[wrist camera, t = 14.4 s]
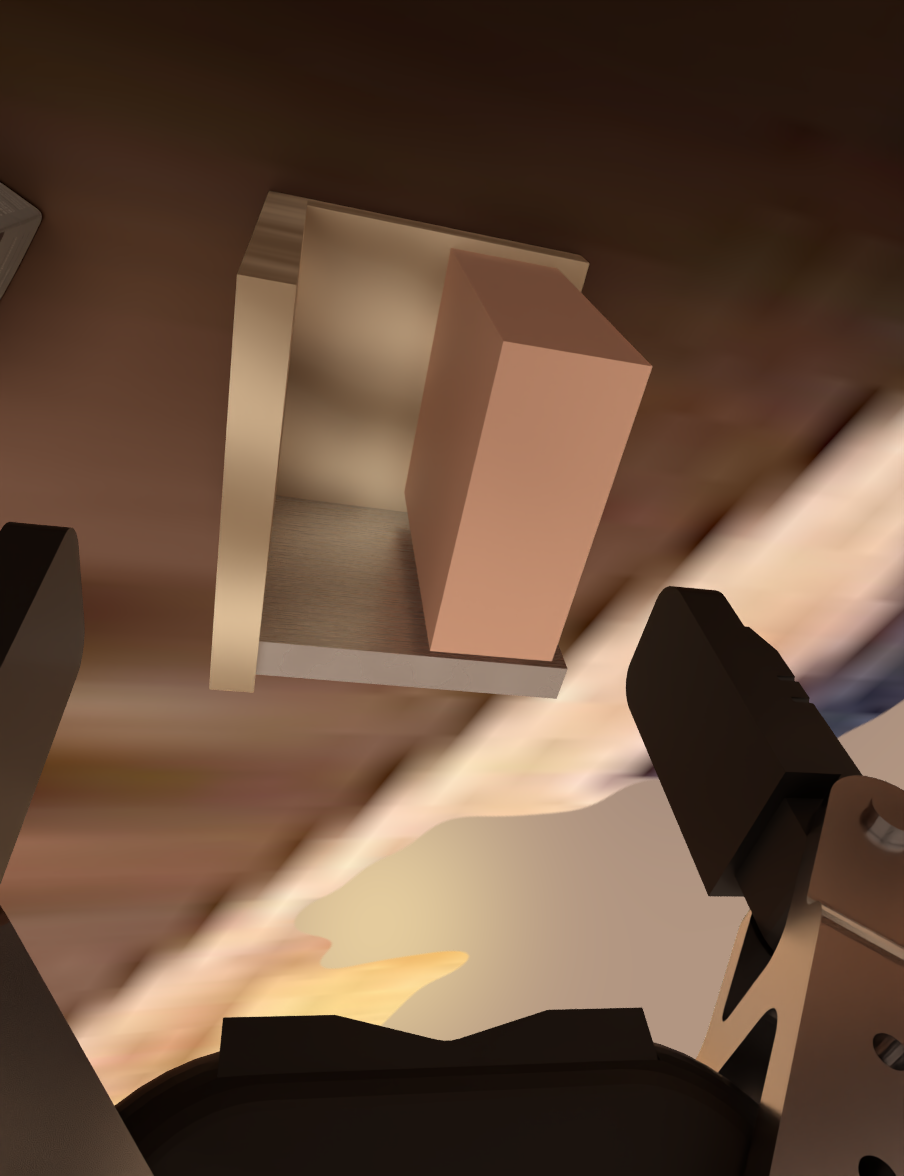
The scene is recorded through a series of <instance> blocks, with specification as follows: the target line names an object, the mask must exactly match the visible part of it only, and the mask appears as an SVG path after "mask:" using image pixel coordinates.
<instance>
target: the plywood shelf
mask: <svg viewBox="0 0 904 1176" xmlns="http://www.w3.org/2000/svg"><path fill="white" fill-rule="evenodd" d="M451 248H454V249H460V250H465V251H470V252H475V253H480V254H485V255H491V256H496V257H501V258H506V259H511V260H516V261H522V262H527V263H532V264H537V265H542V266H548V267H553V268H558V269H559V270H560V271H561V273H562V274H563V275H564V276H565V277H566V278H567V279H568V280H569V281H570V282H571V283H572V284H573V285H574V286H575V287H576V288H577V289H578V290H579V291H580V292H581V291H582V287H583V284H584V281H585V277H586V274H587V270H588V267H589V262H587V261H586V260H585V259H584V258H583V257H582V256H581V255H577V254H572V253H568V252H563V251H558V250H553V249H548V248H543V247H539V246H534V245H529V244H524V243H519V242H515V241H510V240H505V239H500V238H495V237H490V236H486V235H481V234H476V233H471V232H466V231H462V230H457V229H452V228H447V227H442V226H438V225H433V224H428V223H423V222H418V221H413V220H409V219H404V218H399V217H394V216H389V215H385V214H380V213H375V212H370V211H365V210H360V209H356V208H351V207H346V206H341V205H336V204H332V203H327V202H322V201H317V200H312V199H307V198H303V197H298V196H293V195H288V194H283V193H279V192H274V191H269V192H268V195H267V198H266V200H265V203H264V205H263V208H262V211H261V213H260V216H259V218H258V221H257V224H256V226H255V229H254V231H253V234H252V237H251V239H250V242H249V244H248V247H247V250H246V252H245V255H244V257H243V260H242V263H241V265H240V268H239V271H238V273H237V283H236V298H235V312H234V327H233V342H232V357H231V372H230V387H229V402H228V416H227V431H226V446H225V461H224V476H223V491H222V506H221V521H220V535H219V550H218V565H217V580H216V595H215V610H214V625H213V639H212V654H211V669H210V684H209V689H212V690H225V691H239V692H252V693H254V684H255V675H256V666H257V656H258V647H259V638H260V629H261V621H262V612H263V603H264V595H265V586H266V577H267V569H268V560H269V552H270V543H271V534H272V526H273V517H274V508H275V500H276V496H284V497H292V498H300V499H307V500H315V501H323V502H331V503H339V504H346V505H354V506H362V507H370V508H378V509H385V510H393V511H401V512H407V507H406V500H405V494H404V491H405V486H406V480H407V475H408V470H409V465H410V459H411V454H412V449H413V444H414V438H415V433H416V428H417V423H418V418H419V412H420V407H421V402H422V397H423V391H424V386H425V381H426V376H427V370H428V365H429V360H430V355H431V349H432V344H433V339H434V334H435V328H436V323H437V318H438V313H439V307H440V302H441V297H442V292H443V287H444V281H445V276H446V271H447V266H448V260H449V255H450V250H451Z"/></svg>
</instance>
